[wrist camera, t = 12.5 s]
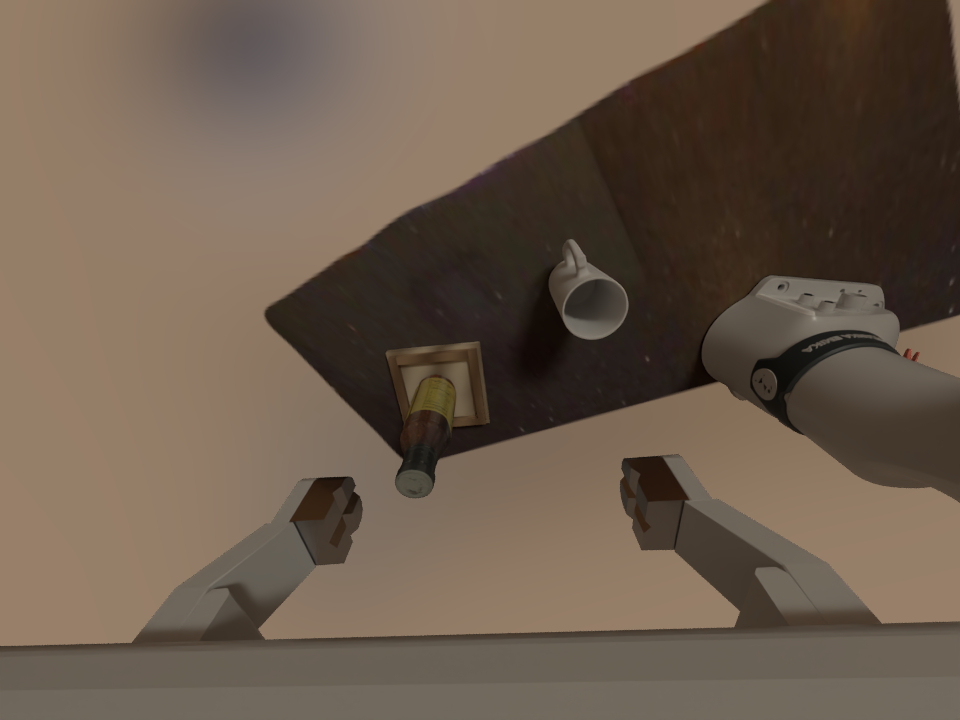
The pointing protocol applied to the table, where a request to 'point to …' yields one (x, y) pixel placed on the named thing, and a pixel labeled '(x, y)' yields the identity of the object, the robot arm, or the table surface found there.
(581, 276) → the mug
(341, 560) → the robot arm
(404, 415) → the seat plate
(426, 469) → the sauce bottle
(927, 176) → the table surface
